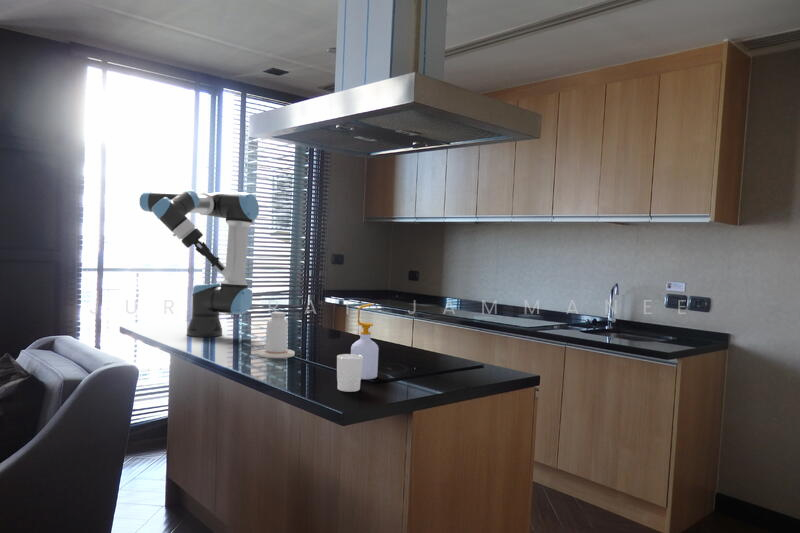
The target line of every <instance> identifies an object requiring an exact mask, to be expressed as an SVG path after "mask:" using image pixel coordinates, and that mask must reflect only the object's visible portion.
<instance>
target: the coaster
mask: <svg viewBox="0 0 800 533" xmlns="http://www.w3.org/2000/svg"><path fill="white" fill-rule="evenodd" d="M295 353H296V351H294V350H292V349H288V348H287V349H286V352H282V353H273V352H268V351H266V348H262V349H259V350H257V356H258V357H260V358H265V359H266V358H267V359H289V358H293V357H295Z"/></svg>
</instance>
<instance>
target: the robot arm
mask: <svg viewBox="0 0 800 533" xmlns="http://www.w3.org/2000/svg"><path fill="white" fill-rule="evenodd" d="M139 205H140V208H141V210H143V212H150V213H153V214H154V215H155V217H156V218H157V219H158V220H159V221H161V223H162V224H163V225H165V227H166V228H168V230H170V232H172V233H173V234H172V236H173V237H176V238H177V239H178V240H181V243H182V244H183V245H184V246H185V247H186V248H187V249H188V248H191V246H193V245H194V247H195V251H197V252H198V253H199V254H200V255H201V256H202V257H205V258H206V259H207V260H208V261H209V262H210V263H211V265H210V266H211V267H212V268H213V267H214V268H215V269H216V270H217V271H218V272H219V274H221V275H222V276H223V277H224V279H223V280H222V281H221V283H219V282H217V283H204V284H196V285H194V286H193V289H192V299H191V300H192V302H191V304H192V305H191V306H192V308H191V319H190V321H189V324H188V327H187V329H186V335H187V336H190V337H196V338H197V337H200V338H209V337H210V338H211V337H220V336H222V335H223V327H222V324H221V320H220V314H221V313H222V314H230V315H231V314H232V315H244V314H245V313H247V312H248V310H249V309H250V308H251V305H252V302H253V292H252V290H251V288H249V287H248V286H249V284H248V283H247V281H246V270H247V268H246V267H247V255H248V253H247V252H248V240H249V228H250V227H251V226H252V225H253V222H254V221H253V220H255V219H257V218H258V216H259V214H260V208H259V203H258V200H257V198H256V197H255V195H254V194H252V193H250V192H243V191H242V192H238V191H237V192H235V191H233V192H231V191H230V192H229V191H219V192H211V193H209V192H208V193H200V194H198V193H197V192H196V191H194V190H193V189H189V188H188V189H185V190H182V191H181V192H157V191H156V192H152V191H147V192H143V193H142V194H141V195H140V197H139ZM190 213H194V214H195V213H196V214H200V215H202V216H209V217H213V218H214V217H215V218H220V219H225V223H226V224H227V225H228V231H227V232H228V233H227V234H228V235H227V244H226V245H227V246H226V260H225V265H224V264H223V263H222V262H221V260H220V258H219V256H217V257H216V256H215V255H214V254H213V253H212V252H211V249H210V248H209V247H208V246H207V244H206V243H205V242H203V241H200V240H199V239H201V238H202V237H203V236H204V235H203V233H202V231H201V230H200V229H198V228H196V226H195V224H194V223H193V222H192V221H191V220H190V219H189V218H188V217H187V216H186V215H188V214H190Z"/></svg>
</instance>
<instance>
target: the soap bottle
mask: <svg viewBox="0 0 800 533" xmlns="http://www.w3.org/2000/svg"><path fill="white" fill-rule="evenodd" d="M372 305H373V303H372V302H371V303H370V302H369V303H367V304H362V305H360V306H359V307H358V309H357V324H358V325H359V326H361V328H362V329H363V330H362V331H361V332H360V338H359V339H358V340H356V341H355V342H354V343H352V344H351V347H350V354H355V355H361V356H363V365H362V375H361V380H373V379H376V378H377V377H378V367H379V350H380V349H379V345H378V344H377V343H376V342H375V341H373V340H372V339H371V336H372V335H371V331H369V329H370V328H371V327H374V323H373V322H361V321H360V311H361V309H363V308H367V307H371V306H372Z"/></svg>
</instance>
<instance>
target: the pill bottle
mask: <svg viewBox="0 0 800 533" xmlns="http://www.w3.org/2000/svg"><path fill="white" fill-rule="evenodd" d="M270 316H271V317H270V319H268V320H267V323H266V335H265V336H266V338H265V349H266V351H268V352H273V353H282V352H286V349H288V348H287V347H288V334H289V333H288V332H289V331H288V330H289V322H288V320H286V317H285V316H286V312H284V311H271V313H270Z"/></svg>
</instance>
